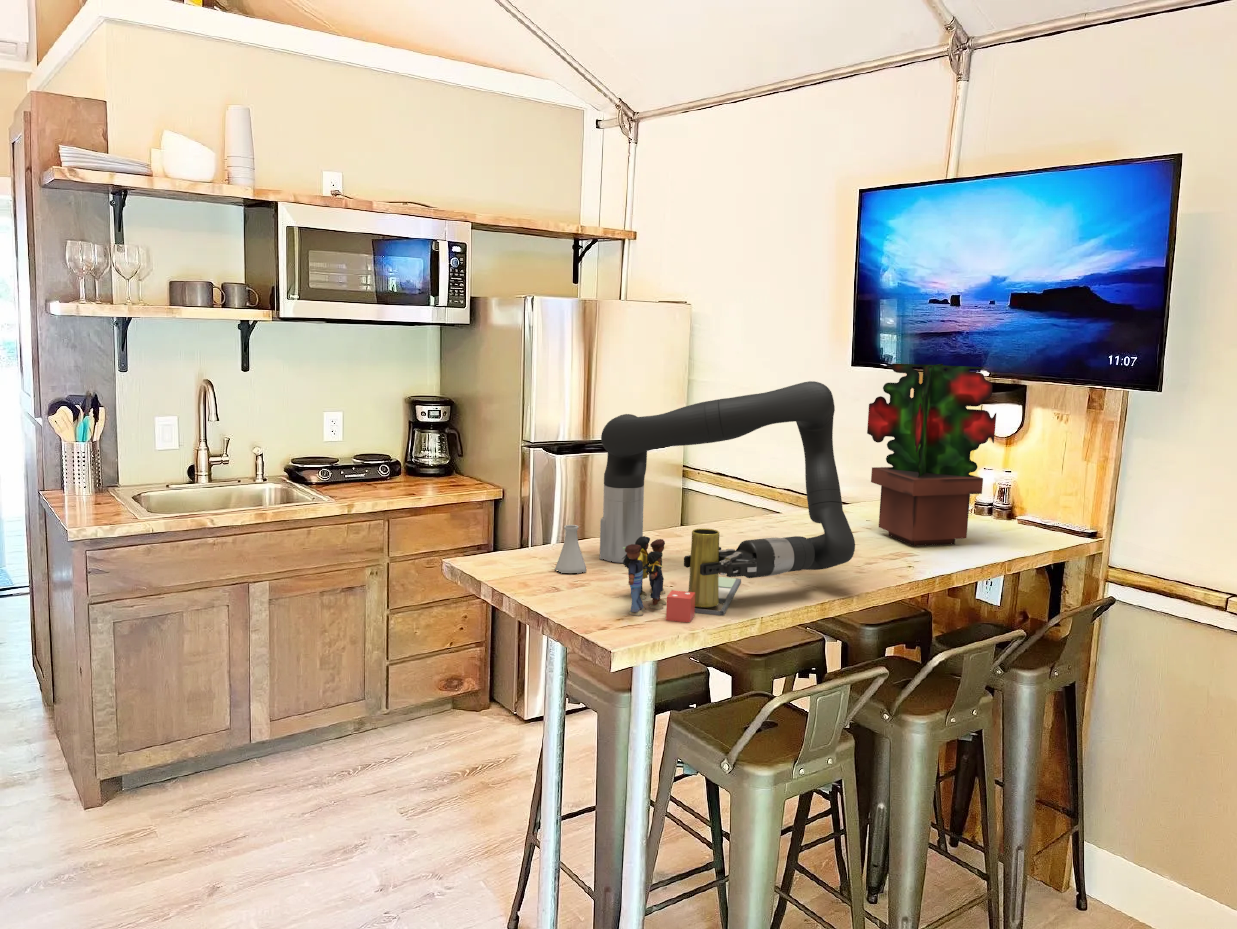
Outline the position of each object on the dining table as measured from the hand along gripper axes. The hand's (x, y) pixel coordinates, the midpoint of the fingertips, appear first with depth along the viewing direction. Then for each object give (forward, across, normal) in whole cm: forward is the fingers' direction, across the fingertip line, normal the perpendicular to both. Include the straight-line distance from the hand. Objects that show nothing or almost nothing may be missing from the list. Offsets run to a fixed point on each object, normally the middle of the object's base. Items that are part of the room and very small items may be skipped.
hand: (693, 565), depth 184 cm
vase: (-3, 0, +8) cm, 8 cm away
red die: (+5, +4, +8) cm, 11 cm away
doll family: (+6, -7, +9) cm, 13 cm away
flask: (+10, -34, +9) cm, 37 cm away
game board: (-8, -6, +9) cm, 13 cm away
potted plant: (-86, -27, +9) cm, 91 cm away
